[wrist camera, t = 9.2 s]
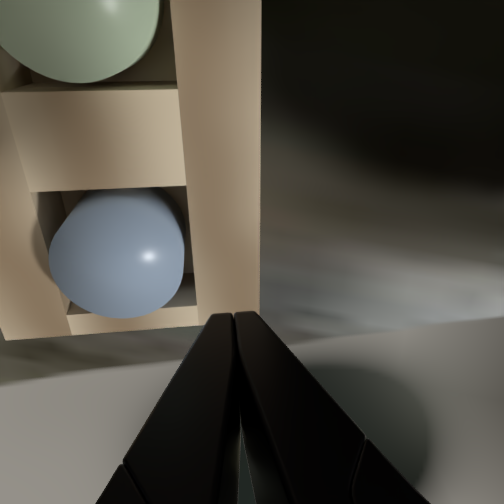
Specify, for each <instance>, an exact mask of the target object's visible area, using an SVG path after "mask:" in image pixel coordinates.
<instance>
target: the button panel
mask: <svg viewBox="0 0 504 504" xmlns="http://www.w3.org/2000/svg"><path fill="white" fill-rule="evenodd" d="M260 140H261V0H164V14H163V21H162V26H161V29H160V32H159V35H158V37H157V39H156V41H155V43H154V45H153V46H152V48H151V49H150V51H149V52H148V53H147V54H146V55H145V56H144V58H142V59H141V60H140V61H139V62H137V63H136V64H134V65H133V66H131V67H129V68H127V69H125V70H123V71H121V72H119V73H117V74H115V75H113V76H111V77H108V78H106V79H103V80H99V81H95V82H88V83H70V82H64V81H59V80H55V79H52V78H49V77H46V76H44V75H42V74H39V73H37V72H35V71H33V70H32V69H30V68H28V67H26V66H25V65H23V64H22V63H21V62H19V61H18V60H16V59H15V58H14V57H12V56H11V55H10V54H9V53H8V52H7V51H6V50H5V49H4V48H3V47H2V46H1V45H0V328H1V330H2V333H3V335H4V337H5V340H18V339H30V338H43V337H56V336H69V335H81V334H94V333H107V332H120V331H133V330H145V329H158V328H171V327H184V326H196V325H205V323H206V322H207V320H208V318H209V317H210V315H211V314H214V313H226V312H230V313H232V314H233V316H234V313H235V312H240V311H255V312H256V313H257V314H258V315H259V287H260ZM139 187H160V188H162V189H163V190H165V191H166V192H167V193H168V194H169V195H170V196H171V197H172V198H173V199H174V200H175V201H176V203H177V204H178V206H179V207H180V209H181V211H182V213H183V217H184V220H185V225H186V237H185V252H184V267H183V276H182V280H181V284H180V286H179V288H178V290H177V292H176V293H175V295H174V296H173V297H172V298H171V299H170V300H169V301H168V302H167V303H166V304H165V305H164V306H162V307H161V308H159V309H158V310H156V311H154V312H152V313H149V314H146V315H143V316H139V317H134V318H110V317H104V316H100V315H97V314H94V313H91V312H89V311H87V310H85V309H83V308H81V307H79V306H78V305H76V304H75V303H73V302H72V301H71V300H70V299H68V298H67V297H66V296H65V295H64V294H63V293H62V291H61V290H60V289H59V287H58V286H57V284H56V283H55V281H54V279H53V277H52V274H51V271H50V267H49V257H48V256H49V248H50V245H51V242H52V240H53V238H54V235H55V234H56V232H57V231H58V230H59V228H60V227H61V225H62V224H63V223H64V221H65V220H66V218H67V217H68V216H69V214H70V213H71V211H72V210H73V209H74V207H75V206H76V204H77V203H78V202H79V200H80V199H81V197H82V196H83V195H84V194H85V193H86V192H87V191H88V190H92V189H116V188H139Z"/></svg>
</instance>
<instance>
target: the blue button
mask: <svg viewBox="0 0 504 504" xmlns="http://www.w3.org/2000/svg"><path fill="white" fill-rule="evenodd" d="M185 237H186V225H185V220H184V217H183V213H182V211H181V209H180V207H179V206H178V204H177V203H176V201H175V200H174V199H173V198H172V197H171V196H170V195H169V194H168V193H167V192H166V191H165V190H163V189H162V188H160V187H139V188H116V189H92V190H88V191H87V192H86V193H85V194H84V195H83V196H82V197H81V199H80V200H79V202H78V203H77V204H76V206H75V207H74V209H73V210H72V211H71V213H70V214H69V216H68V217H67V218H66V220H65V221H64V223H63V224H62V225H61V227H60V228H59V230H58V231H57V232H56V234H55V235H54V238H53V240H52V242H51V245H50V248H49V256H48V257H49V267H50V271H51V274H52V277H53V279H54V281H55V283H56V284H57V286H58V287H59V289H60V290H61V291H62V293H63V294H64V295H65V296H66V297H67V298H68V299H70V300H71V301H72V302H73V303H75V304H76V305H78V306H79V307H81V308H83V309H85V310H87V311H89V312H91V313H94V314H97V315H100V316H104V317H110V318H134V317H139V316H143V315H146V314H149V313H152V312H154V311H156V310H158V309H159V308H161V307H162V306H164V305H165V304H166V303H167V302H168V301H169V300H170V299H171V298H172V297H173V296H174V295H175V293H176V292H177V290H178V288H179V286H180V284H181V280H182V276H183V267H184V252H185Z"/></svg>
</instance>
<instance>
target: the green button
mask: <svg viewBox="0 0 504 504" xmlns="http://www.w3.org/2000/svg"><path fill="white" fill-rule="evenodd" d="M163 14H164V0H0V45H1V46H2V47H3V48H4V49H5V50H6V51H7V52H8V53H9V54H10V55H11V56H12V57H14V58H15V59H16V60H18V61H19V62H21V63H22V64H23V65H25V66H26V67H28V68H30V69H32V70H33V71H35V72H37V73H39V74H42V75H44V76H46V77H49V78H52V79H55V80H59V81H64V82H70V83H88V82H95V81H99V80H103V79H106V78H108V77H111V76H113V75H115V74H117V73H119V72H121V71H123V70H125V69H127V68H129V67H131V66H133V65H134V64H136V63H137V62H139V61H140V60H141V59H142V58H144V56H145V55H146V54H147V53H148V52H149V51H150V49H151V48H152V46H153V45H154V43H155V41H156V39H157V37H158V35H159V32H160V29H161V26H162V21H163Z"/></svg>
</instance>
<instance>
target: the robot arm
mask: <svg viewBox="0 0 504 504" xmlns="http://www.w3.org/2000/svg"><path fill="white" fill-rule="evenodd" d="M240 419H241V427H242V435H243V441H244V446H245V451H246V456H247V461H248V466H249V471H250V476H251V481H252V486H253V491H254V496H255V501H256V504H430V503H429V502H428V501H427V500H426V499H425V498H424V497H423V496H422V495H421V494H420V493H419V492H418V491H417V490H416V489H415V488H414V487H413V486H412V485H411V484H410V483H409V481H408V480H407V479H406V478H405V477H404V476H403V475H402V474H401V473H400V472H399V471H398V470H397V469H396V468H395V467H394V466H393V464H392V463H391V462H390V461H389V460H388V459H387V458H386V457H385V456H384V455H383V454H382V452H381V451H380V450H379V449H378V448H377V447H376V446H375V444H374V443H373V442H372V441H371V440H370V439H366V435H365V434H364V432H363V431H362V430H361V429H360V428H359V427H358V426H357V425H356V423H355V422H354V421H353V420H352V419H351V418H350V417H349V416H348V415H347V413H346V412H345V411H344V410H343V409H342V408H341V407H340V406H339V404H338V403H337V402H336V401H335V400H334V399H333V398H332V396H330V394H329V393H328V392H327V391H326V390H325V389H324V388H323V387H322V385H321V384H320V383H319V382H318V381H317V380H316V379H315V377H313V375H312V374H311V373H310V372H309V371H308V370H307V369H306V367H305V366H304V365H303V364H302V363H301V362H300V361H299V360H298V359H297V357H296V356H295V355H294V354H293V353H292V352H291V351H290V350H289V348H288V347H287V346H286V345H285V344H284V343H283V342H282V340H281V339H280V338H279V337H278V336H277V335H276V334H275V333H274V332H273V330H272V329H271V328H270V327H269V326H268V325H267V324H266V323H265V321H264V320H263V319H262V318H261V317H260V316H259V315H258V314H257V313H256V312H255V311H240V312H235V313H234V316H233V314H232V313H230V312H226V313H214V314H211V315H210V317H209V318H208V320H207V322H206V323H205V325H204V327H203V328H202V330H201V331H200V333H199V335H198V336H197V338H196V340H195V341H194V343H193V345H192V346H191V348H190V350H189V351H188V353H187V355H186V356H185V358H184V359H183V361H182V363H181V364H180V366H179V368H178V369H177V371H176V373H175V374H174V376H173V378H172V379H171V381H170V383H169V384H168V386H167V388H166V389H165V391H164V392H163V394H162V396H161V397H160V399H159V401H158V402H157V404H156V406H155V407H154V409H153V411H152V412H151V414H150V416H149V417H148V419H147V420H146V422H145V424H144V425H143V427H142V429H141V430H140V432H139V434H138V435H137V437H136V439H135V440H134V442H133V443H132V445H131V447H130V448H129V450H128V452H127V454H126V455H125V457H124V458H123V464H120V465H119V466H118V468H117V470H116V471H115V473H114V474H113V476H112V478H111V479H110V481H109V483H108V484H107V486H106V488H105V489H104V491H103V493H102V494H101V496H100V497H99V499H98V500H97V502H96V504H238V487H239V465H240V441H241V440H240V439H241V427H240Z"/></svg>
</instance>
